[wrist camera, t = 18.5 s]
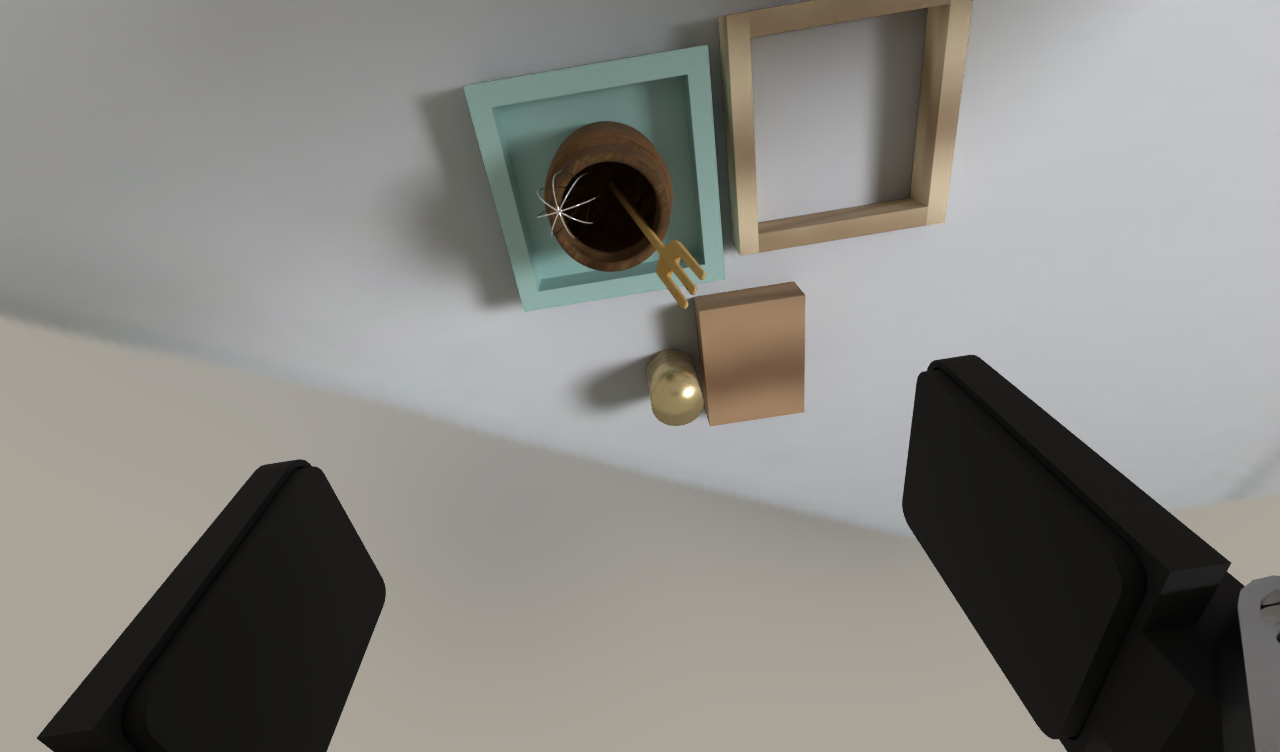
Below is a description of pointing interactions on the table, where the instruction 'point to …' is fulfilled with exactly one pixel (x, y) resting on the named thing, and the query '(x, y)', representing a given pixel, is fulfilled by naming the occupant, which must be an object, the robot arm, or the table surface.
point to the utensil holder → (615, 204)
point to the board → (752, 352)
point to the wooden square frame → (933, 134)
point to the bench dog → (674, 388)
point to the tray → (567, 100)
